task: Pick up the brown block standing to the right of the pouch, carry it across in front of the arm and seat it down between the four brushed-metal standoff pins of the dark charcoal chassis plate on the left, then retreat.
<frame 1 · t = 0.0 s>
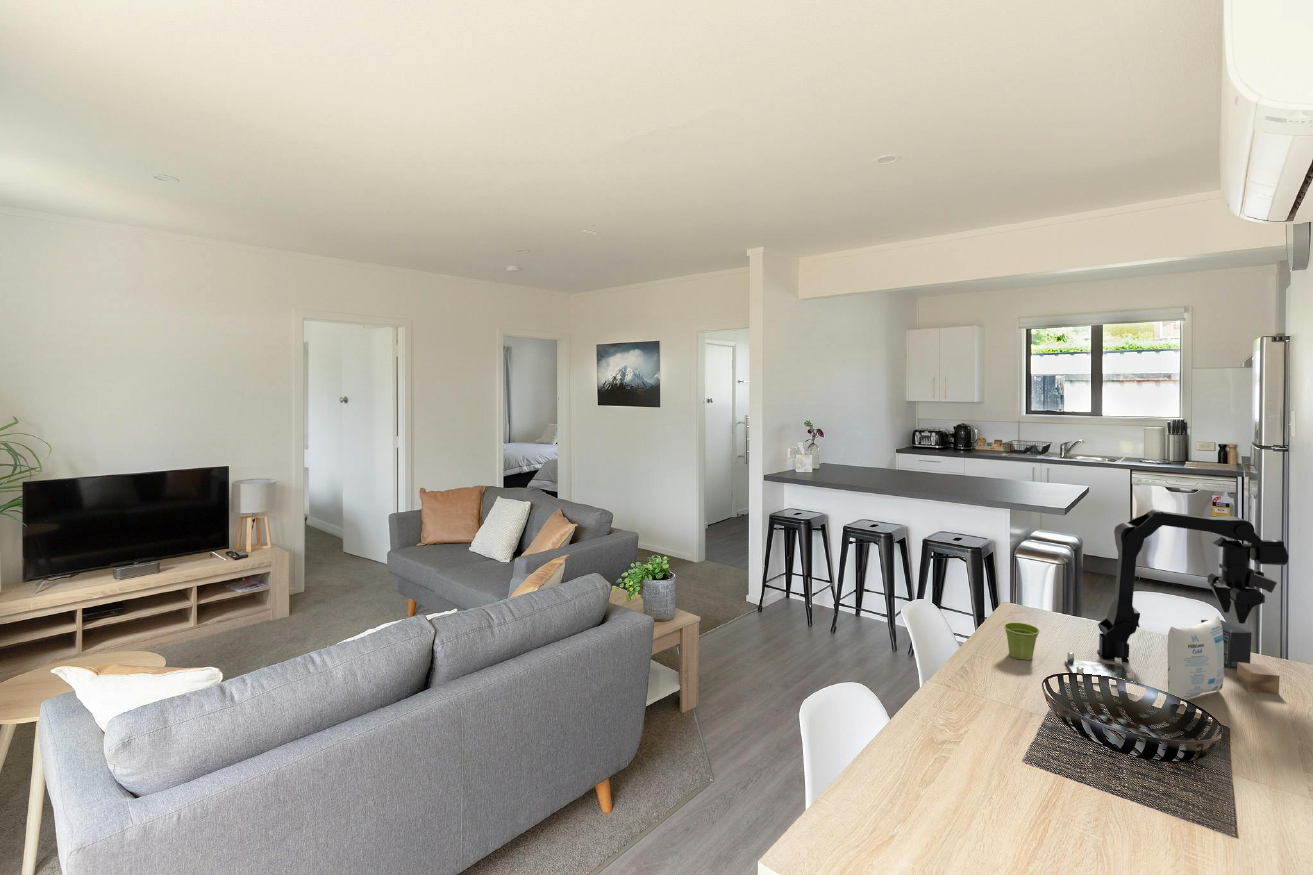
hand: (1233, 617, 183), 15 cm above the table, fingers open, 9 cm apart
plant pot: (1021, 656, 196), on the table
small box: (1224, 661, 190), on the table
chassis: (1099, 674, 183), on the table
brown block: (1257, 687, 173), on the table
pouch: (1194, 698, 168), on the table
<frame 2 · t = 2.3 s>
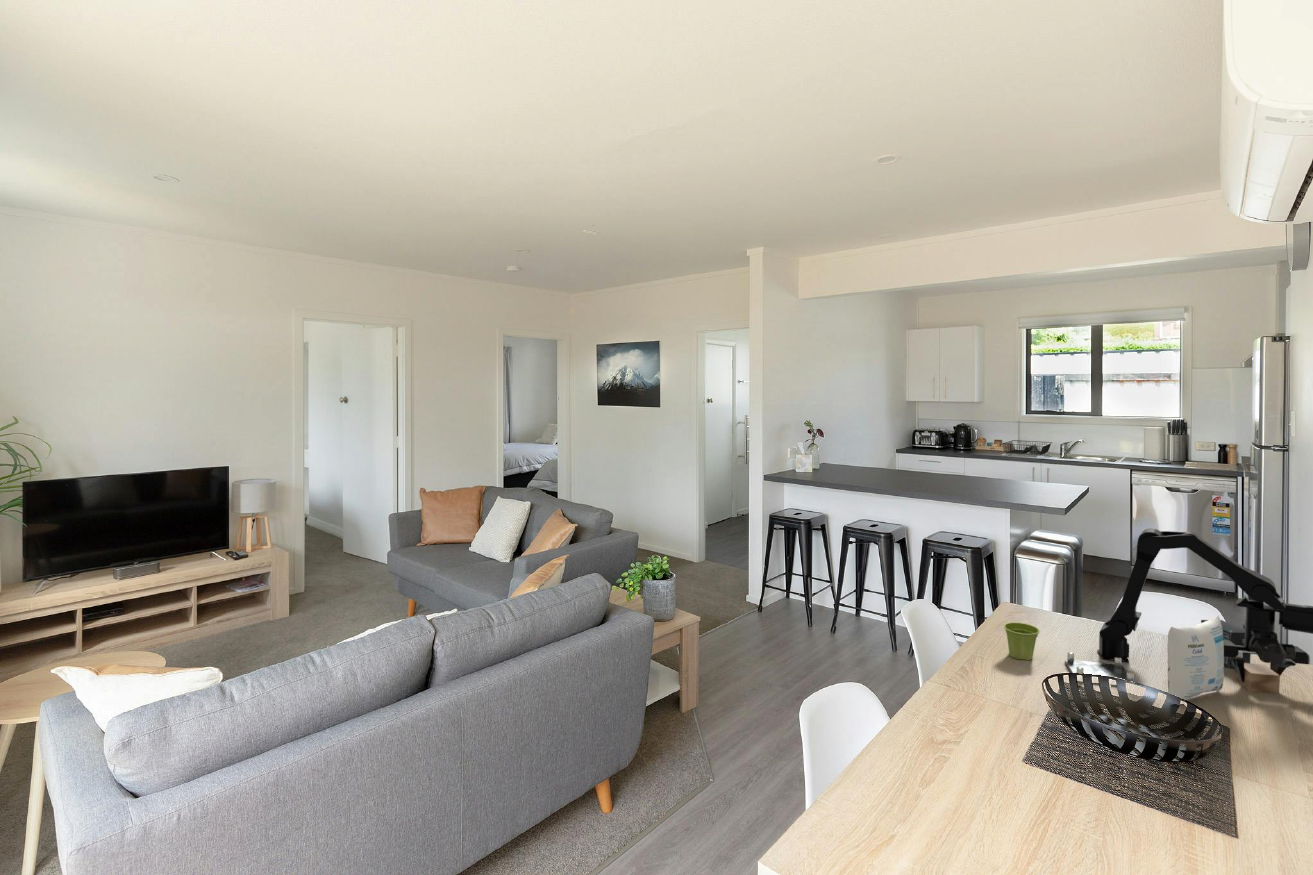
hand: (1257, 682, 173), 1 cm above the table, fingers closed on brown block, 6 cm apart
brown block: (1257, 687, 173), on the table, touching gripper
everything else where it was.
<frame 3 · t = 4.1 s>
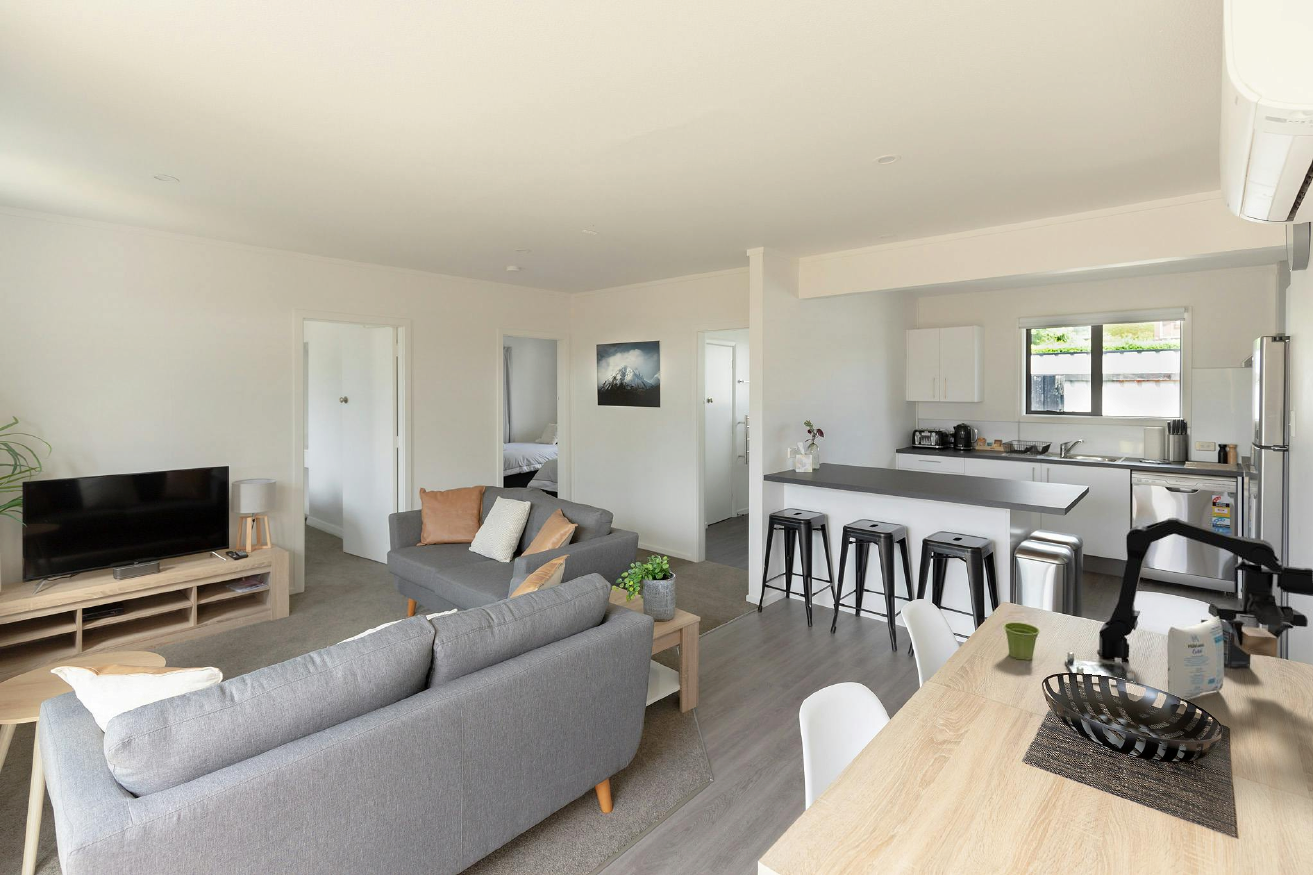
hand: (1254, 646, 173), 11 cm above the table, fingers closed on brown block, 6 cm apart
brown block: (1254, 650, 173), point 10 cm above the table, touching gripper
everything else where it was.
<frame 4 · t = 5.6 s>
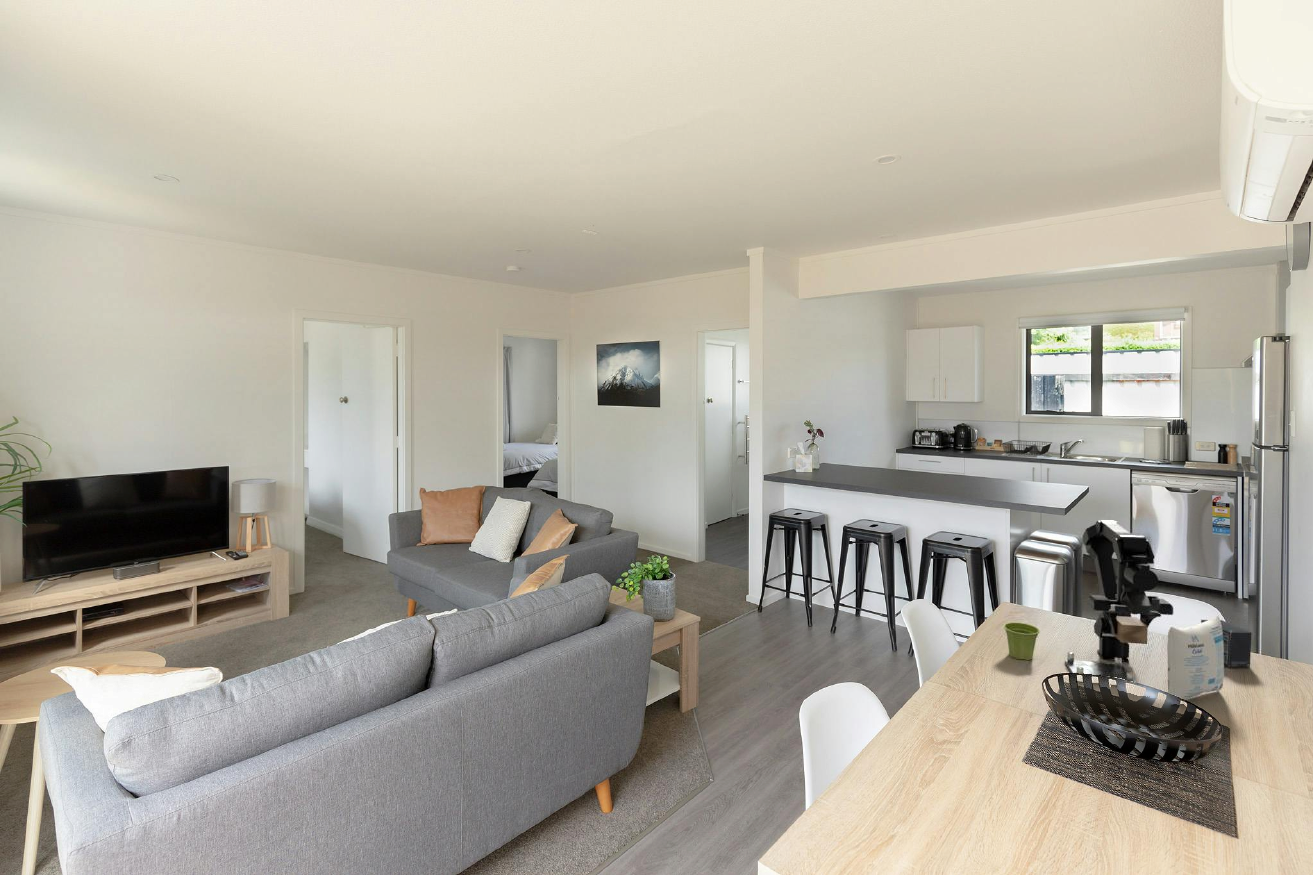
hand: (1128, 634, 183), 11 cm above the table, fingers closed on brown block, 6 cm apart
brown block: (1128, 638, 182), point 10 cm above the table, touching gripper
everything else where it was.
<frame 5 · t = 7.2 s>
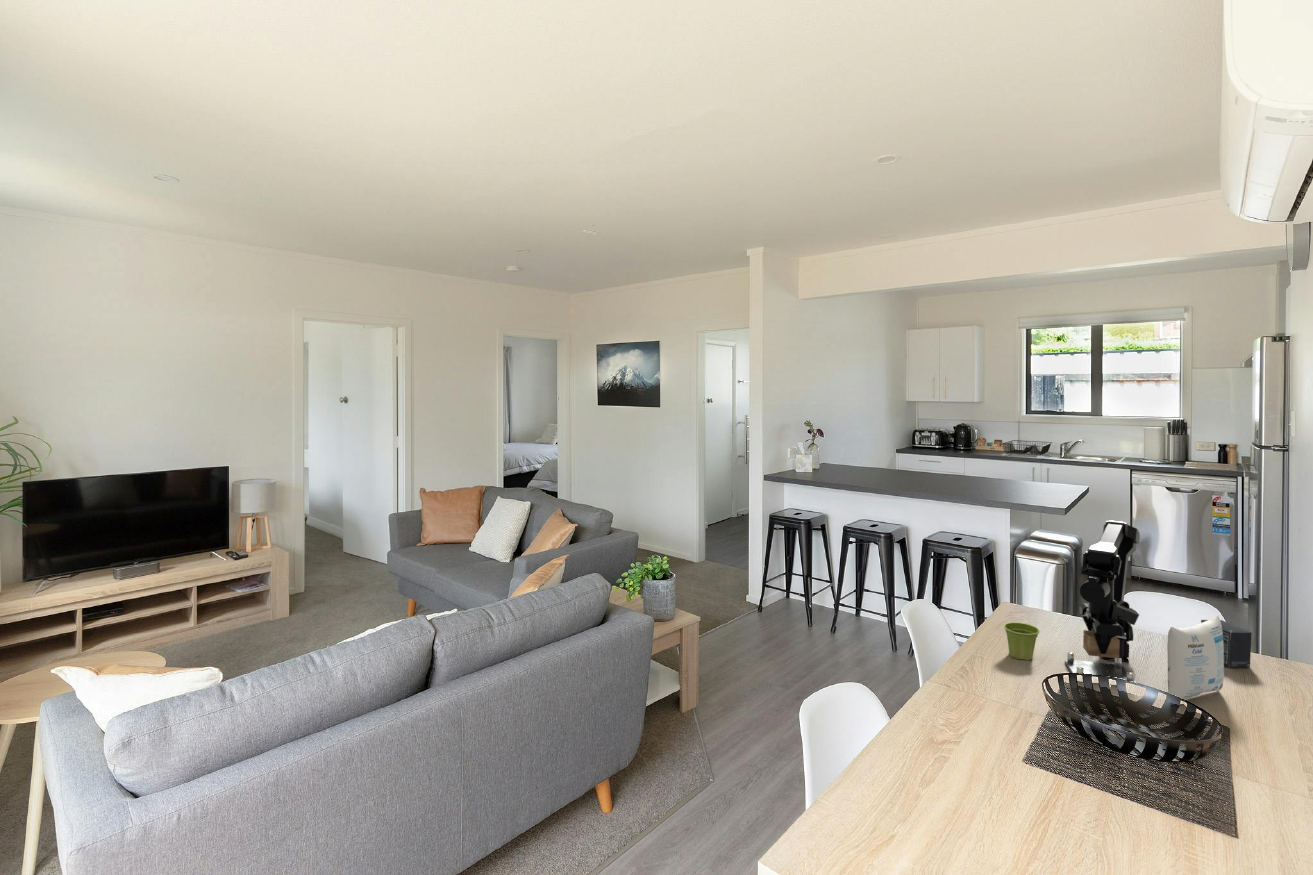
hand: (1099, 649, 182), 7 cm above the table, fingers closed on brown block, 6 cm apart
brown block: (1100, 652, 182), point 6 cm above the table, touching gripper
everything else where it was.
when the fingers open (3 cm above the table, at t = 8.7 s): brown block drops 1 cm, resting on chassis.
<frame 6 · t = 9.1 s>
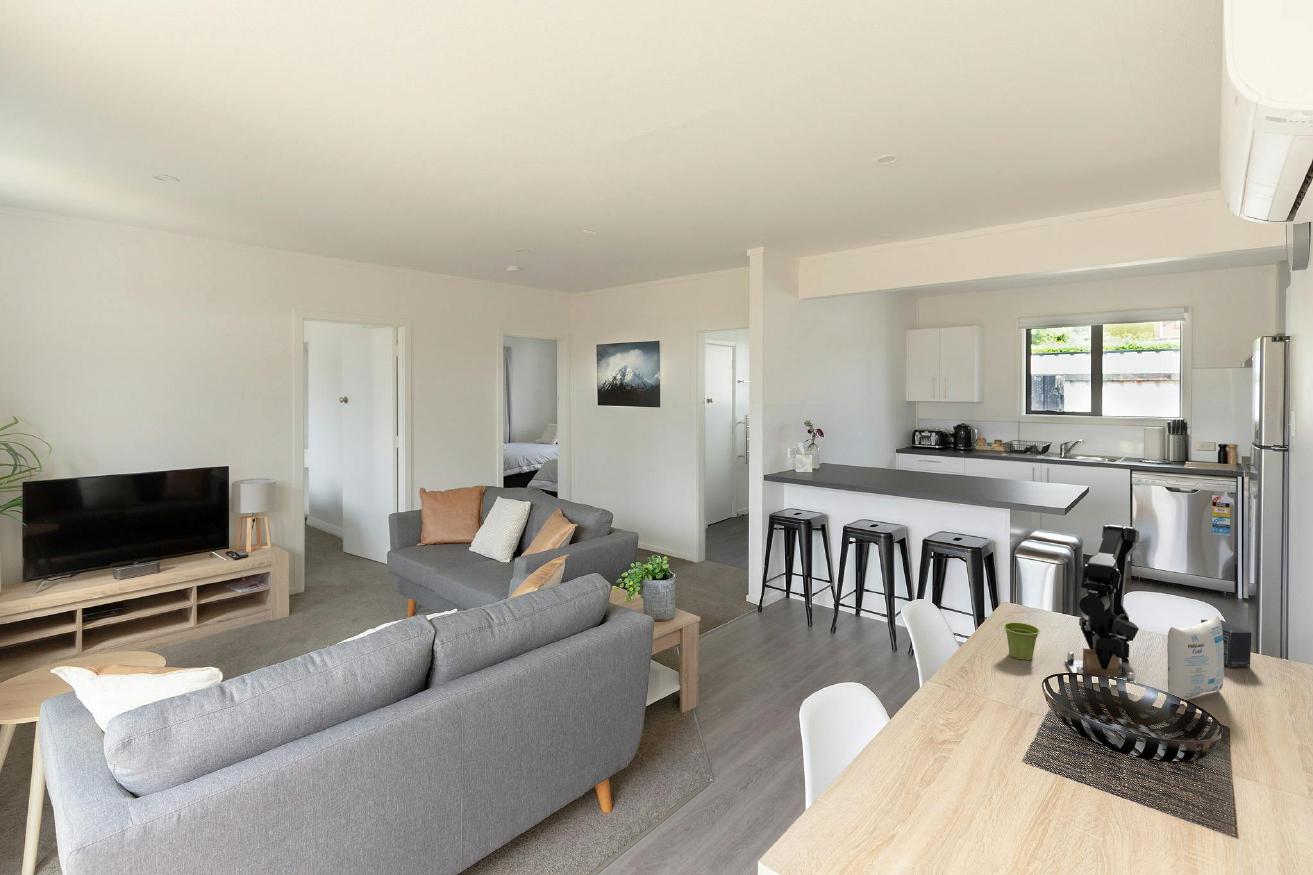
hand: (1099, 662, 182), 3 cm above the table, fingers open, 9 cm apart
brown block: (1100, 671, 183), point 1 cm above the table, touching chassis
everything else where it was.
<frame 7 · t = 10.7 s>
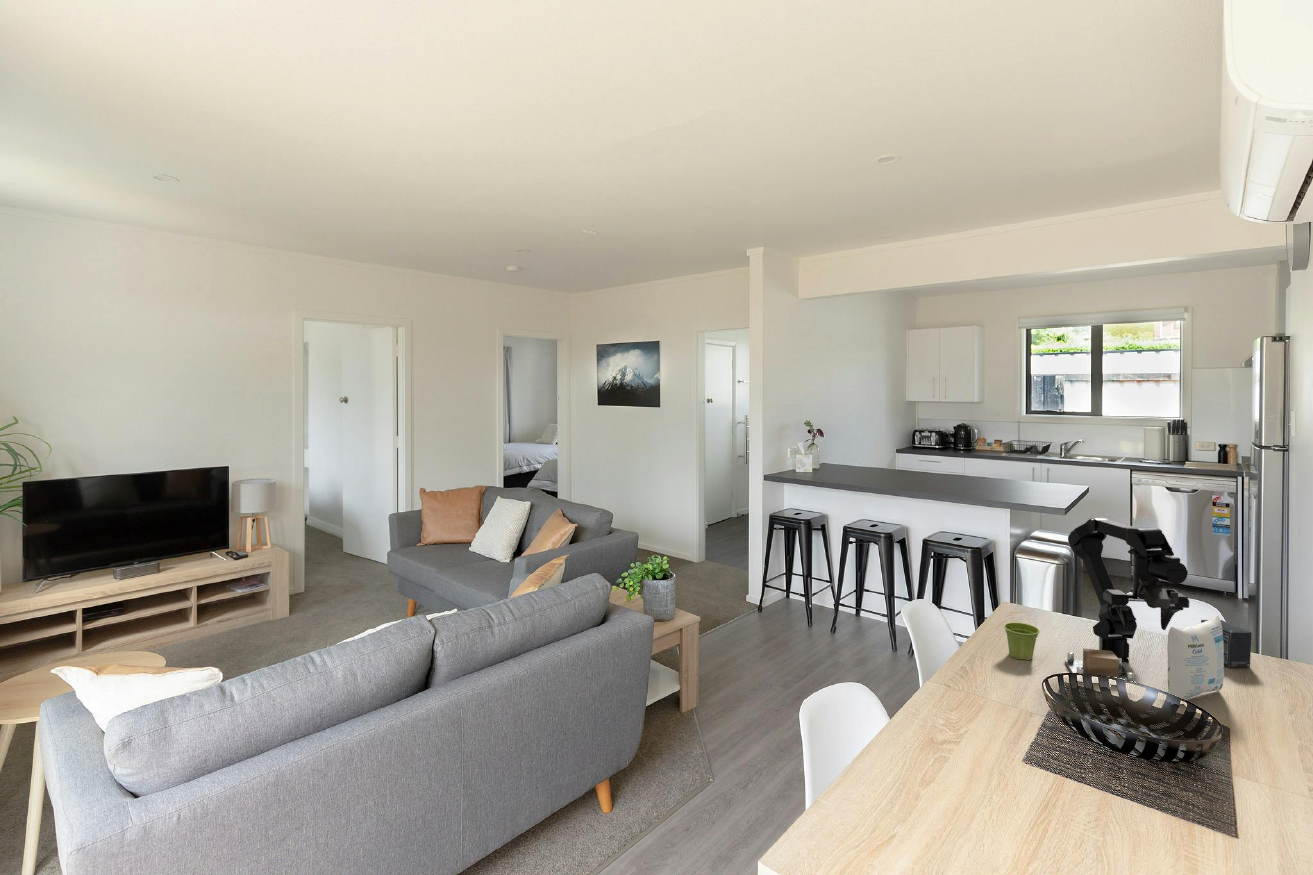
hand: (1144, 628, 182), 13 cm above the table, fingers open, 9 cm apart
nothing on the table moved.
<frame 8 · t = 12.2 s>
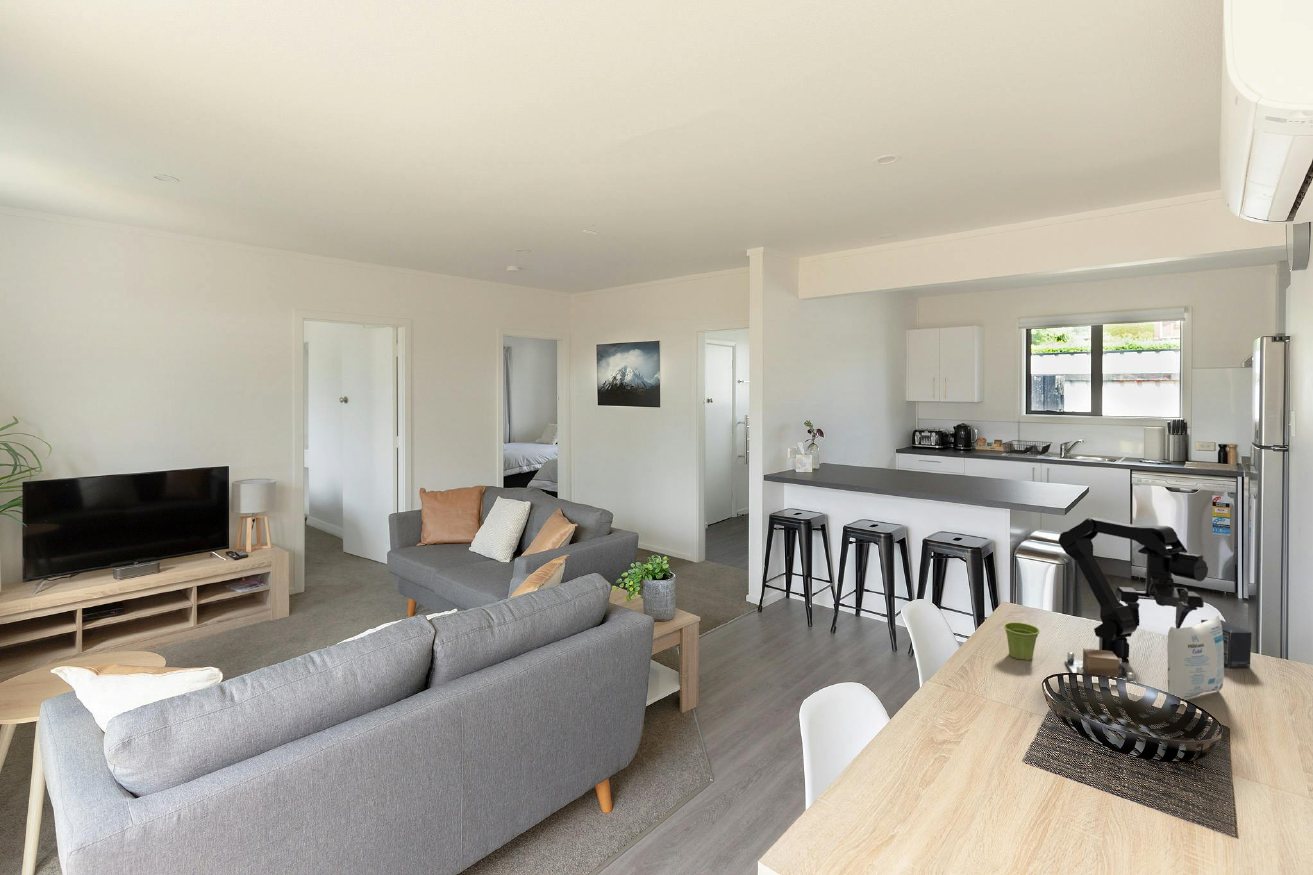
hand: (1157, 627, 182), 13 cm above the table, fingers open, 9 cm apart
nothing on the table moved.
at the end: brown block 0.2 cm from the chassis (horizontally); brown block touching chassis; brown block tilted 0° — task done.
